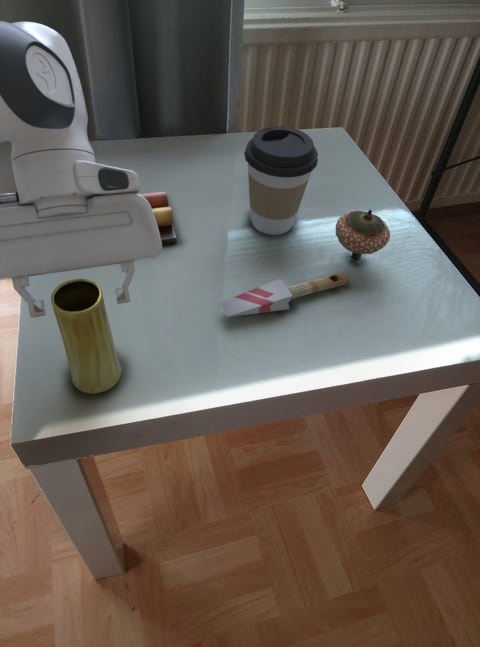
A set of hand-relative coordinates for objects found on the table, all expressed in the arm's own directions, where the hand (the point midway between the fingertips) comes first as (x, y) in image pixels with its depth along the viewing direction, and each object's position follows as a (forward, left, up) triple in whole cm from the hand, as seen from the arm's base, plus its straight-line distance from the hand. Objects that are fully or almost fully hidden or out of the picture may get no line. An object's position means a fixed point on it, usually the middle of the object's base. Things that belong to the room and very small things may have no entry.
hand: (82, 309), depth 57 cm
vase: (0, -2, -10) cm, 10 cm away
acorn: (+42, +11, -10) cm, 45 cm away
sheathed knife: (+28, +5, -10) cm, 30 cm away
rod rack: (+8, +27, -10) cm, 30 cm away
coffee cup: (+32, +23, -10) cm, 41 cm away
